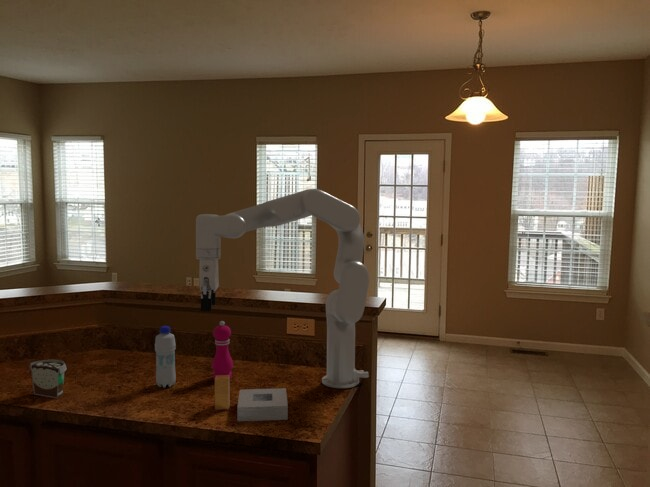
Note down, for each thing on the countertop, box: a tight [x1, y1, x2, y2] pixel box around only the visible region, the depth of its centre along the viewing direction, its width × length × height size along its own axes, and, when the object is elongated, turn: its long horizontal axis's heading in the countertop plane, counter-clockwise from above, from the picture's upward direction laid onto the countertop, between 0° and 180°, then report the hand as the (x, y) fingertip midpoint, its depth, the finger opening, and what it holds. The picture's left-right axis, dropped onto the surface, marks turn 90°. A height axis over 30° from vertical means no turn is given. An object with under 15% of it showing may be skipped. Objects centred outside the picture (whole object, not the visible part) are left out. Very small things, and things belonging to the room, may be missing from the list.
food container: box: [29, 359, 67, 399], centre depth 172 cm, size 12×6×10 cm, turn 71°
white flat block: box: [236, 387, 289, 422], centre depth 159 cm, size 14×14×4 cm
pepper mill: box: [211, 320, 234, 381], centre depth 187 cm, size 7×7×20 cm
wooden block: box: [214, 375, 231, 411], centre depth 161 cm, size 4×4×9 cm
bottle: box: [154, 325, 177, 389], centre depth 179 cm, size 7×7×20 cm
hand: (208, 307), depth 171 cm, fingers open, 9 cm apart
